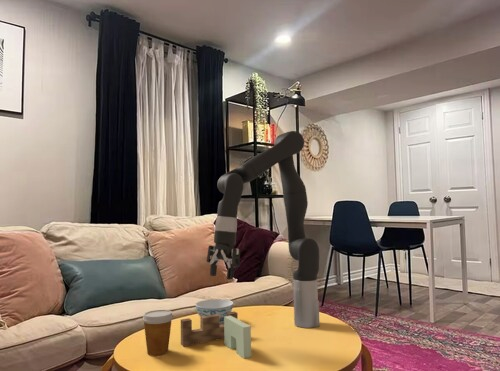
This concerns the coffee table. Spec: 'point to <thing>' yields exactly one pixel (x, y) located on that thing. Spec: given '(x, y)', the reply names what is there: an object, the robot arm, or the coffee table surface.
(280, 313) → the coffee table surface
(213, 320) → the rail
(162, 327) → the disposable coffee cup
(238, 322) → the cross piece
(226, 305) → the chinaware
